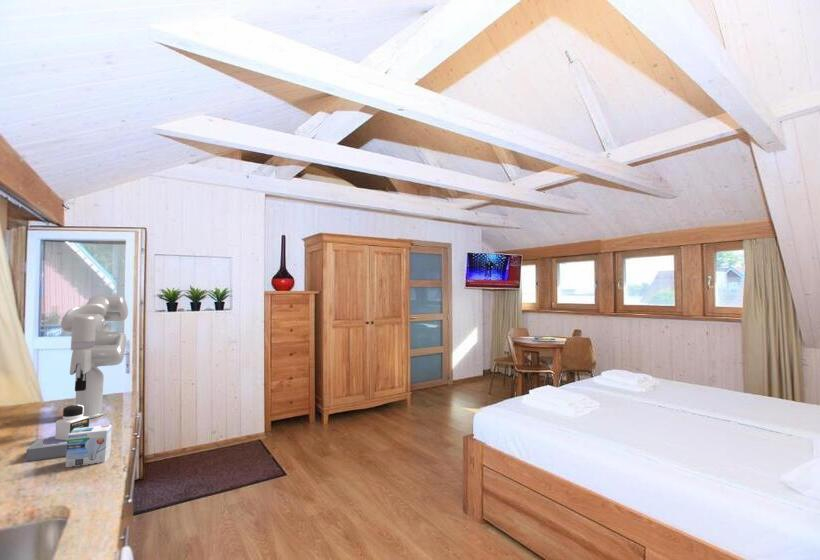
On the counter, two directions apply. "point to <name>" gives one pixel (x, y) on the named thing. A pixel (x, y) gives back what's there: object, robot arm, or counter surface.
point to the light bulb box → (88, 445)
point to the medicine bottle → (71, 421)
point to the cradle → (45, 451)
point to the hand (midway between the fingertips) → (80, 390)
